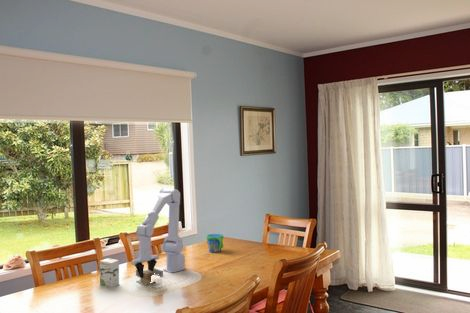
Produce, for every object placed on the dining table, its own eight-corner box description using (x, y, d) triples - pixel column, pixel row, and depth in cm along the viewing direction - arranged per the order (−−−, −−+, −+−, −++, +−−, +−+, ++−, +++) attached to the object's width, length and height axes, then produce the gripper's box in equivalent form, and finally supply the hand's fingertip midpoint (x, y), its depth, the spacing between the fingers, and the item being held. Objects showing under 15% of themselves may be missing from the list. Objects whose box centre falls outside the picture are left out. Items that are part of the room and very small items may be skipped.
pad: (146, 279, 211) (146, 278, 211) (155, 282, 206) (155, 281, 206) (136, 281, 207) (136, 281, 207) (145, 285, 201) (145, 284, 201)
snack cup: (228, 253, 260) (227, 236, 260) (212, 255, 255) (212, 238, 255) (217, 247, 274) (217, 232, 273) (202, 250, 269) (202, 234, 268)
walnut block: (148, 279, 209) (148, 269, 209) (154, 282, 205) (154, 271, 205) (140, 281, 206) (140, 271, 205) (146, 284, 202) (146, 274, 202)
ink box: (99, 284, 204) (98, 260, 204) (107, 281, 208) (106, 257, 208) (112, 287, 200) (111, 262, 200) (119, 284, 204) (119, 259, 204)
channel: (149, 271, 224) (149, 266, 224) (163, 275, 216) (162, 270, 216) (136, 274, 218) (135, 270, 218) (149, 279, 210) (149, 274, 210)
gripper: (152, 244, 214) (153, 271, 214) (127, 250, 203) (128, 278, 204) (161, 247, 209) (161, 274, 209) (135, 252, 198) (136, 281, 199)
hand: (145, 276), depth 206 cm, fingers open, 5 cm apart
